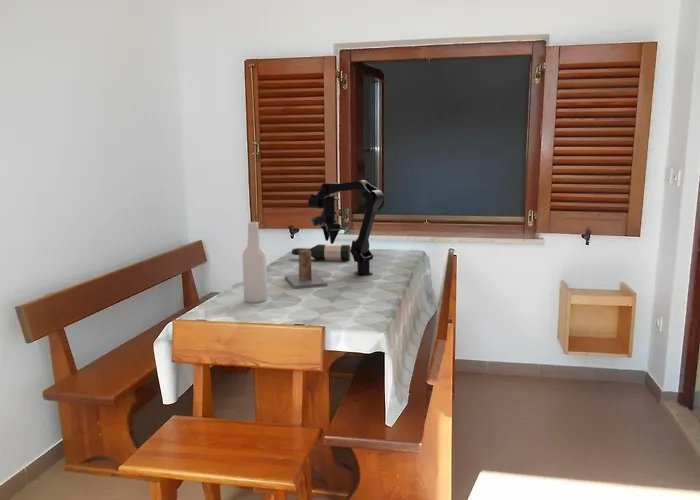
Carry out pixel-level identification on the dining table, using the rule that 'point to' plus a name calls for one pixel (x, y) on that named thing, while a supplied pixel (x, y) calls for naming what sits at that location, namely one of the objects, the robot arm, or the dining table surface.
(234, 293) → the dining table surface
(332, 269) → the dining table surface
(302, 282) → the slate board
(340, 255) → the wine bottle
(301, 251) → the wooden pillar
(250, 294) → the alcohol
